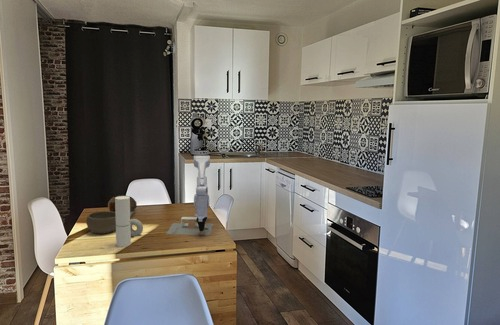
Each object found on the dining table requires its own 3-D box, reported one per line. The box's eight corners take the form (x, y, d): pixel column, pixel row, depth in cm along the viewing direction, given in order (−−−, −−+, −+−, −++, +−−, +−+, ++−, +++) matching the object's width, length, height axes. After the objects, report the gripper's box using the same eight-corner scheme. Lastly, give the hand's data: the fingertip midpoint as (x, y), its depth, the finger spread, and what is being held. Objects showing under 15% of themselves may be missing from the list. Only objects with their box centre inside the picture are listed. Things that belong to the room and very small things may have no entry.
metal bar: (175, 228, 218) (175, 226, 217) (177, 228, 218) (177, 226, 218) (172, 233, 208) (172, 231, 208) (174, 233, 208) (174, 231, 208)
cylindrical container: (132, 242, 195) (131, 196, 192) (128, 247, 188) (127, 199, 185) (118, 242, 195) (117, 196, 191) (114, 246, 188) (113, 199, 184)
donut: (124, 236, 204) (124, 219, 202) (127, 234, 207) (127, 217, 206) (141, 238, 202) (141, 220, 200) (144, 236, 205) (144, 218, 204)
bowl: (125, 228, 218) (125, 212, 217) (106, 237, 201) (106, 220, 200) (101, 225, 222) (100, 209, 221) (80, 234, 205) (79, 217, 204)
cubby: (172, 224, 228) (172, 214, 227) (213, 224, 228) (213, 214, 227) (166, 235, 207) (165, 224, 206) (210, 236, 207) (210, 225, 207)
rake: (198, 229, 217) (198, 217, 216) (208, 229, 217) (208, 217, 216) (196, 234, 207) (196, 222, 206) (206, 234, 207) (206, 222, 207)
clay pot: (142, 193, 259) (129, 194, 234) (143, 214, 258) (131, 218, 233) (121, 195, 259) (106, 196, 234) (123, 217, 258) (108, 220, 233)
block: (189, 226, 221) (189, 220, 221) (195, 226, 221) (195, 220, 221) (188, 228, 217) (188, 221, 217) (194, 228, 217) (195, 222, 217)
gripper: (196, 203, 213) (196, 226, 215) (193, 210, 199) (193, 234, 201) (208, 203, 213) (208, 226, 215) (206, 210, 199) (205, 234, 201)
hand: (201, 230), depth 208 cm, fingers closed on rake
